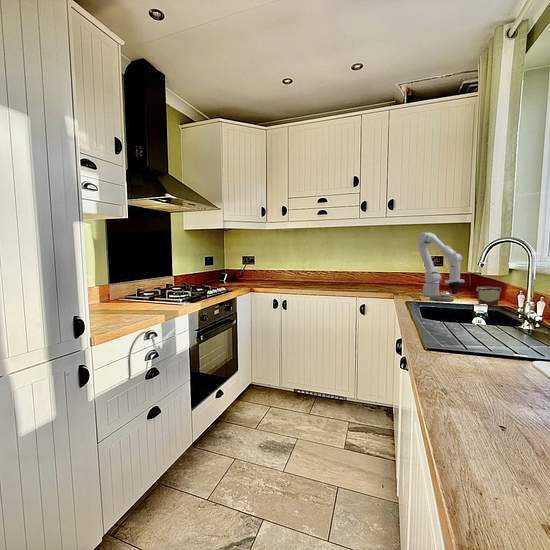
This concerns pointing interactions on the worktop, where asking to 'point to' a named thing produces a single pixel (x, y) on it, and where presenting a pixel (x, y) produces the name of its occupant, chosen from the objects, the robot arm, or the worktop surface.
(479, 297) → the food container
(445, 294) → the cover
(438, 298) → the turntable
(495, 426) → the worktop surface
